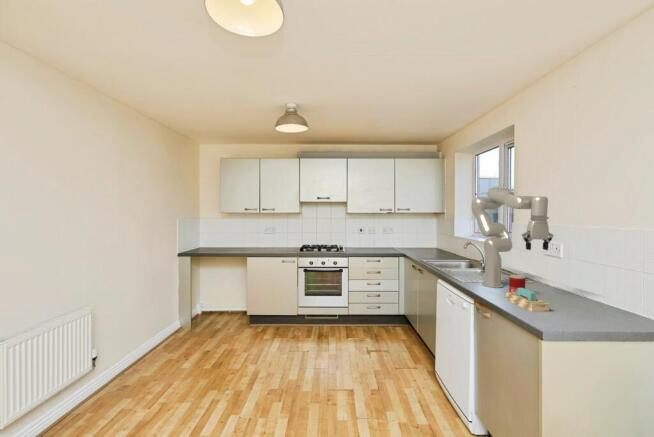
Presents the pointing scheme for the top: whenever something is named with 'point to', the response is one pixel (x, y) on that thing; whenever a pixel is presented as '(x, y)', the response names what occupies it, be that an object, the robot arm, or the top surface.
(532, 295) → the teal long block
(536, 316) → the top surface
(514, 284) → the canned food
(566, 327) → the top surface
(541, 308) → the tan slotted block
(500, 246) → the robot arm
